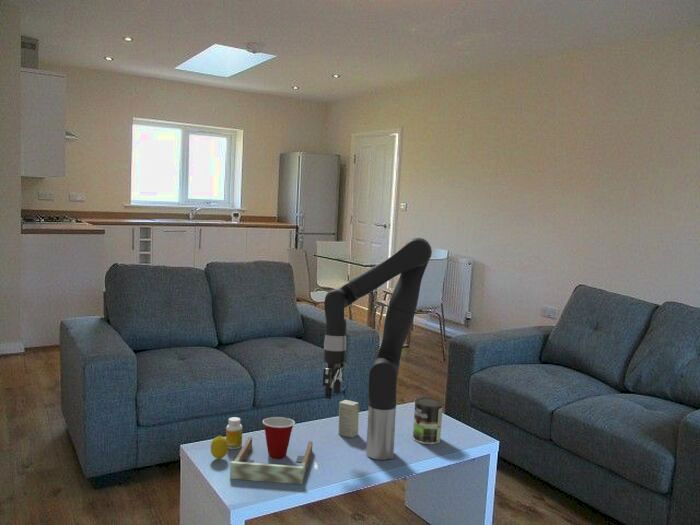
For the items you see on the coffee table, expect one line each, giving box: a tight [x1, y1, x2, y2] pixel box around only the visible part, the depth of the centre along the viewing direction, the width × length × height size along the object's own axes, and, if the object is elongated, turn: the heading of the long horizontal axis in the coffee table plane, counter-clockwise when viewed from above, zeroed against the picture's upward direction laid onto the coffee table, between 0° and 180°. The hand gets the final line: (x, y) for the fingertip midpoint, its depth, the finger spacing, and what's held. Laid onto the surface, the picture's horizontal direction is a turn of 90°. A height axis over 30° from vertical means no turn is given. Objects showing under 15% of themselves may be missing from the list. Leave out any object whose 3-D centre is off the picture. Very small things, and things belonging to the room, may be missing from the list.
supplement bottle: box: [225, 416, 243, 450], centre depth 206 cm, size 5×5×10 cm
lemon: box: [210, 435, 229, 461], centre depth 196 cm, size 6×6×8 cm
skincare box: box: [338, 399, 360, 439], centre depth 222 cm, size 6×4×12 cm
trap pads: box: [243, 455, 304, 464], centre depth 196 cm, size 22×6×1 cm, turn 106°
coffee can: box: [412, 396, 444, 445], centre depth 221 cm, size 10×10×14 cm
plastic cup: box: [262, 416, 296, 460], centre depth 201 cm, size 11×11×12 cm
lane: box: [229, 436, 314, 485], centre depth 194 cm, size 22×24×5 cm
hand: (332, 396), depth 204 cm, fingers open, 8 cm apart
